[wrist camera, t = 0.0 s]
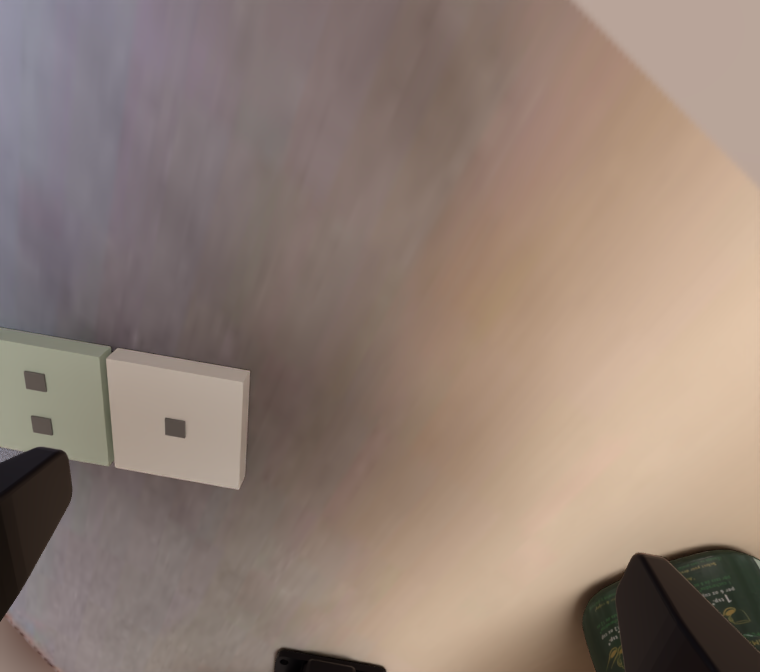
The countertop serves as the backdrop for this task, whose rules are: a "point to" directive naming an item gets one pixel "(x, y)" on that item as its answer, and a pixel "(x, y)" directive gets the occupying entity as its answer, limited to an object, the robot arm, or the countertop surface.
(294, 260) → the countertop surface
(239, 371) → the tile strip
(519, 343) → the countertop surface
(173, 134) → the countertop surface
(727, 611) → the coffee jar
